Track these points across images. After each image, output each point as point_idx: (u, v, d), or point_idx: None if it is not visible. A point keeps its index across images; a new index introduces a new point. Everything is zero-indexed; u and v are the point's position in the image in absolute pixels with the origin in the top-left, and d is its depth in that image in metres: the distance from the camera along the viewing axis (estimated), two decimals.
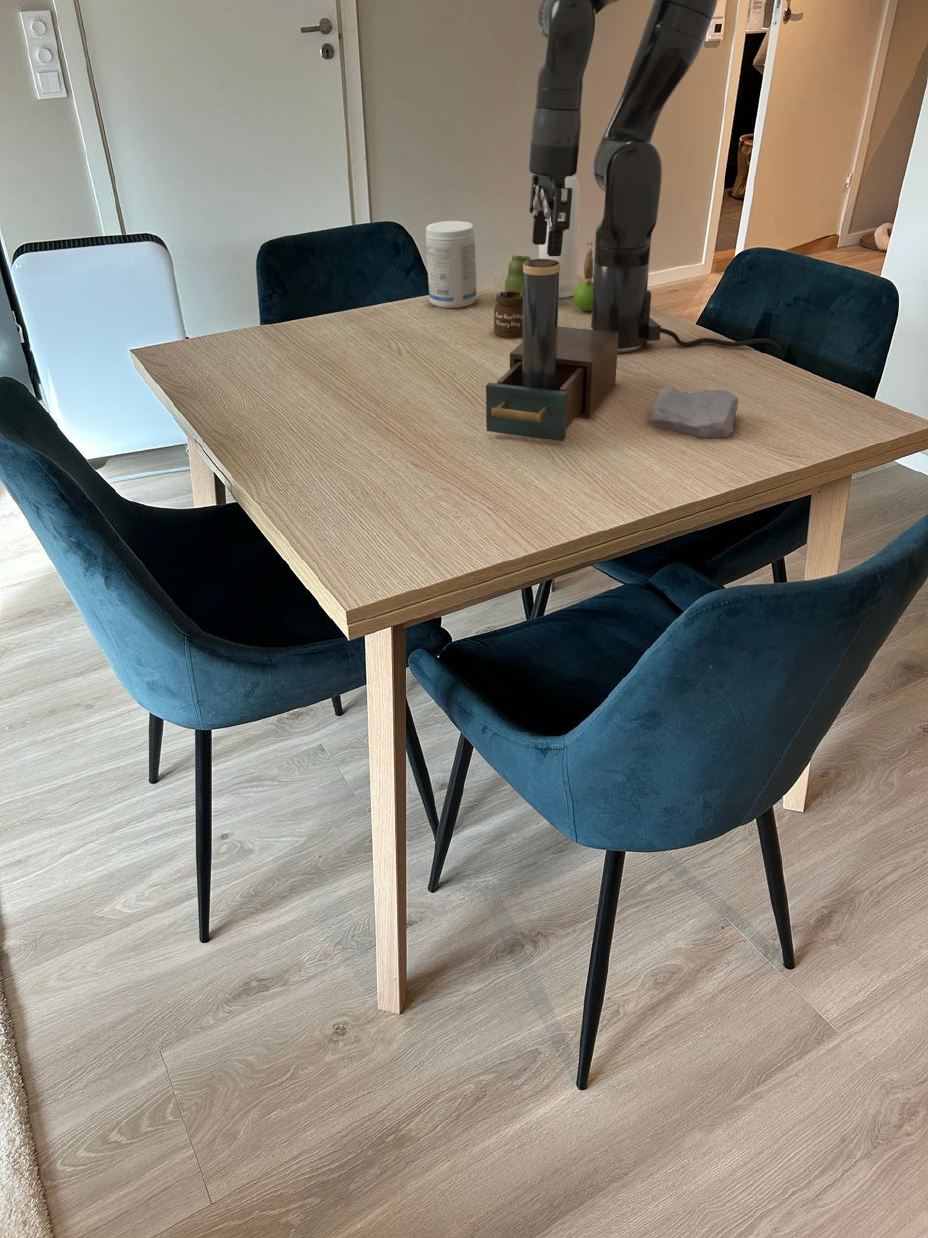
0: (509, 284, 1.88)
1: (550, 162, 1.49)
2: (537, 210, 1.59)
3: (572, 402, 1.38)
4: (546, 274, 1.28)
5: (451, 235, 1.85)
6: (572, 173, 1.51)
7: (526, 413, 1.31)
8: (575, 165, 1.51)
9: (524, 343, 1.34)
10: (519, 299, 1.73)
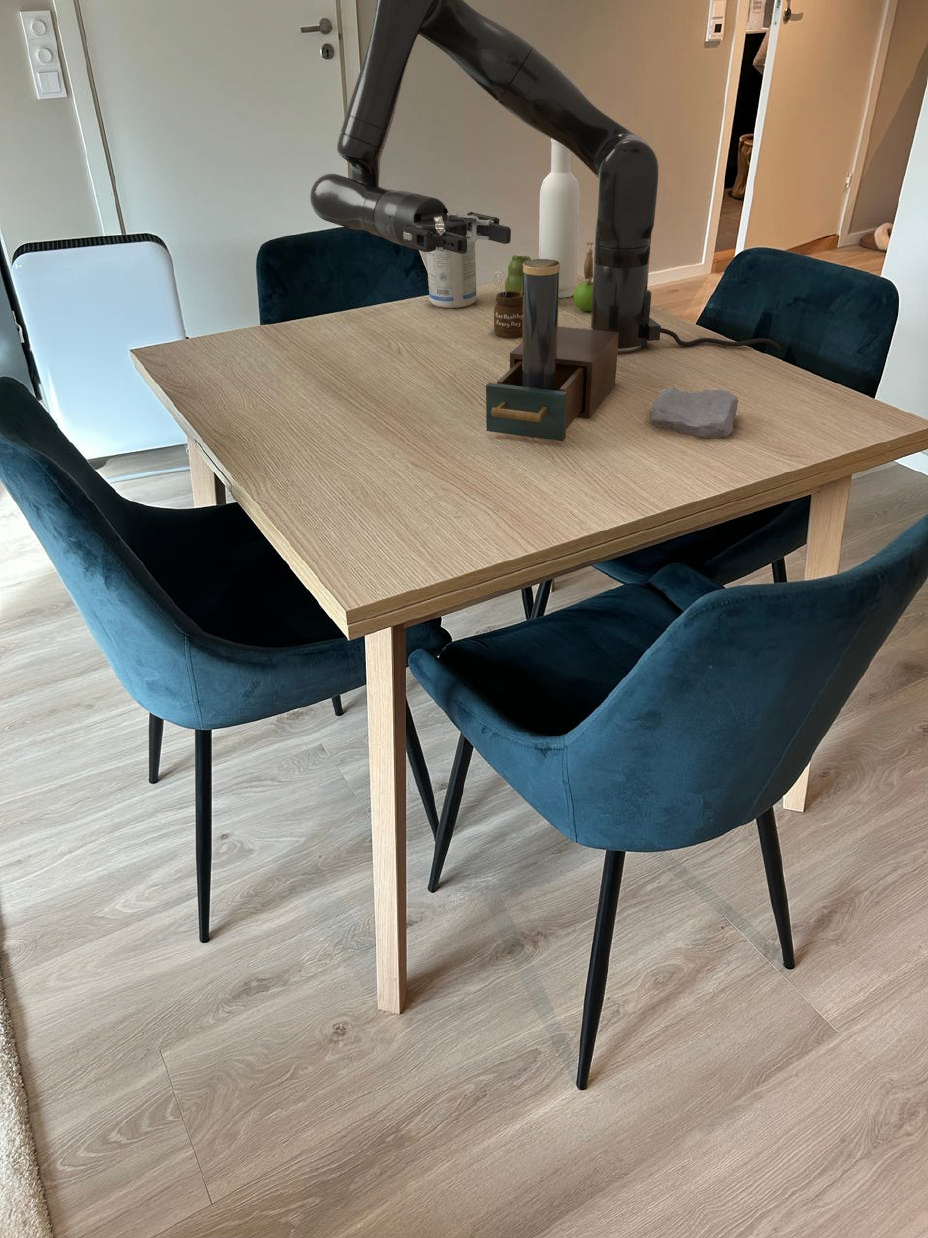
0: (509, 284, 1.88)
1: None
2: (476, 237, 1.41)
3: (572, 402, 1.38)
4: (546, 274, 1.28)
5: None
6: (415, 211, 1.40)
7: (526, 413, 1.31)
8: (412, 205, 1.40)
9: (524, 343, 1.34)
10: (519, 299, 1.73)
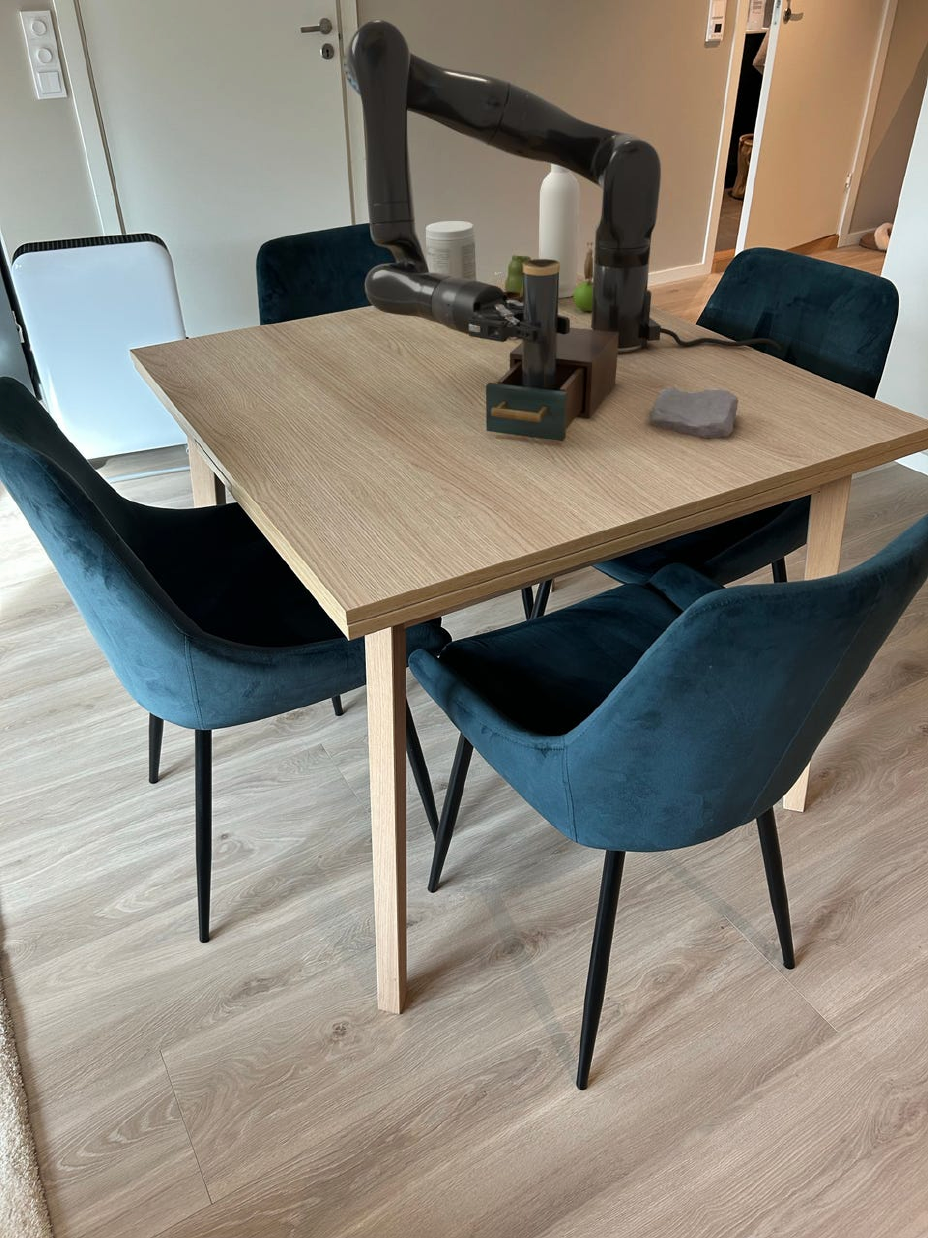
0: (509, 284, 1.88)
1: (464, 326, 1.40)
2: None
3: (572, 402, 1.38)
4: (546, 274, 1.28)
5: (451, 235, 1.85)
6: (474, 300, 1.37)
7: (526, 413, 1.31)
8: (471, 294, 1.38)
9: (524, 343, 1.34)
10: (519, 299, 1.73)
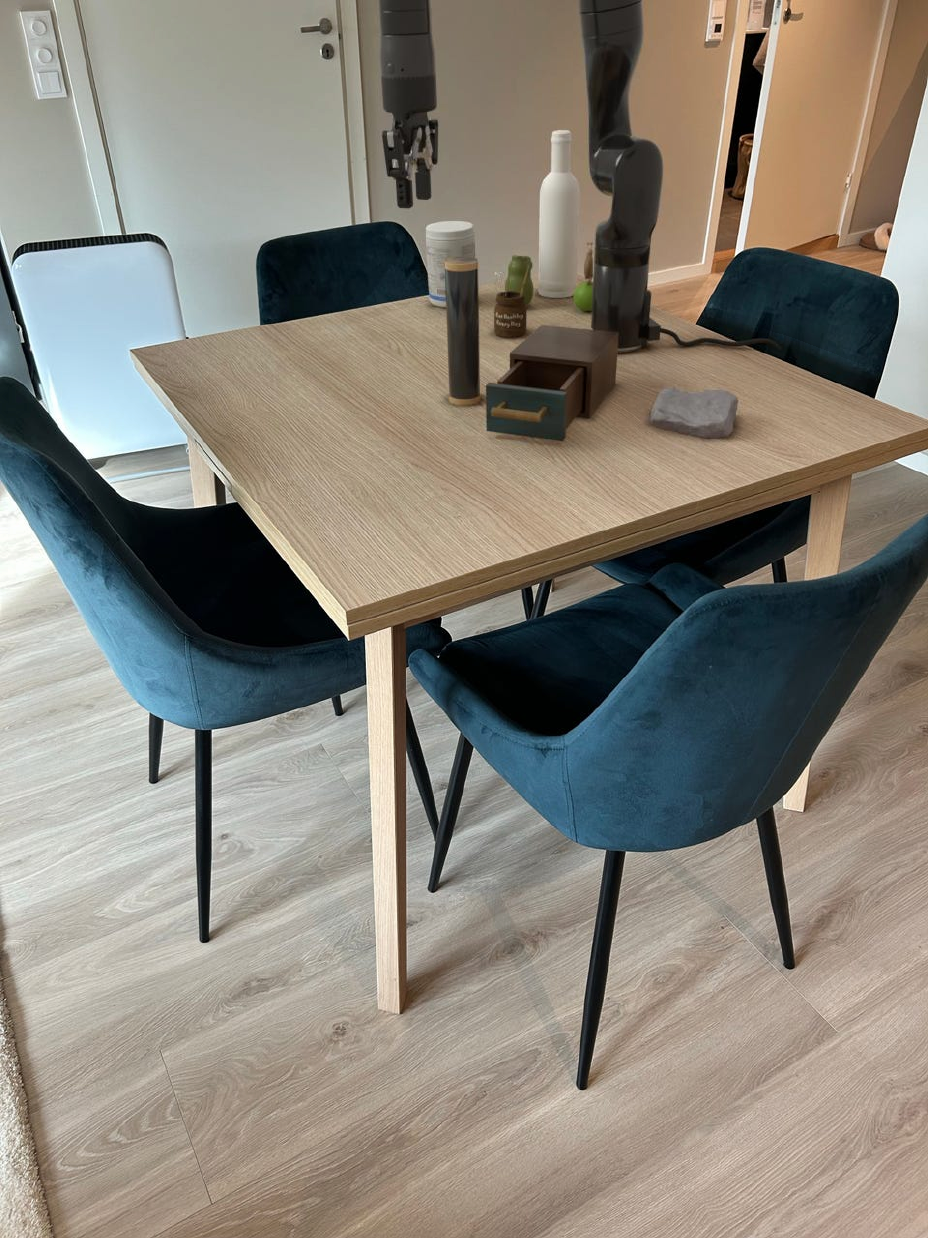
0: (509, 284, 1.88)
1: (388, 96, 1.32)
2: None
3: (572, 402, 1.38)
4: (465, 270, 1.38)
5: (451, 235, 1.85)
6: (416, 109, 1.32)
7: (526, 413, 1.31)
8: (420, 100, 1.32)
9: (448, 334, 1.45)
10: (519, 299, 1.73)
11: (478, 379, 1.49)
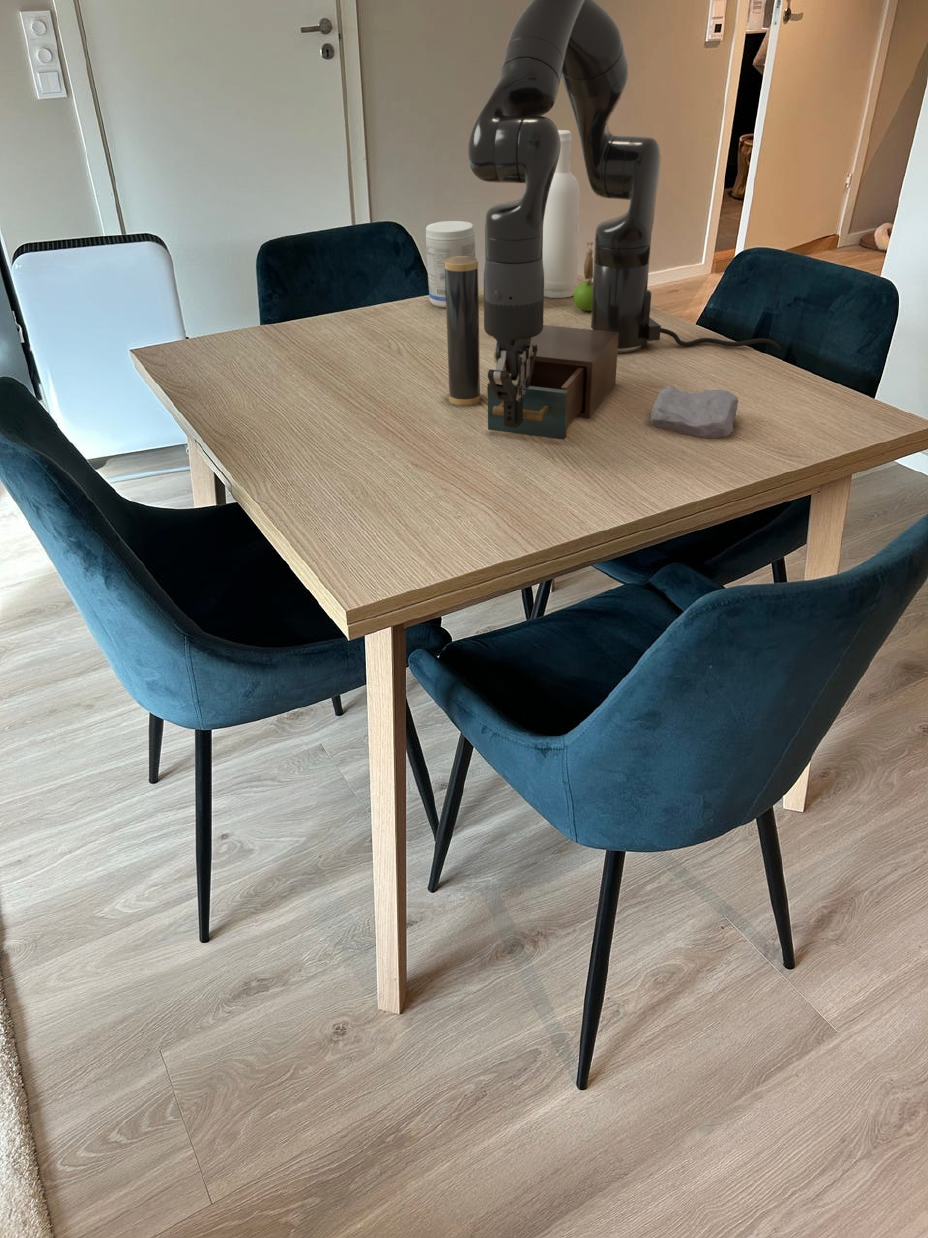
0: None
1: (492, 322, 1.21)
2: None
3: (573, 401, 1.38)
4: (465, 270, 1.38)
5: (451, 235, 1.85)
6: (523, 336, 1.21)
7: (527, 412, 1.31)
8: (528, 327, 1.21)
9: (448, 334, 1.45)
10: None
11: (478, 379, 1.49)
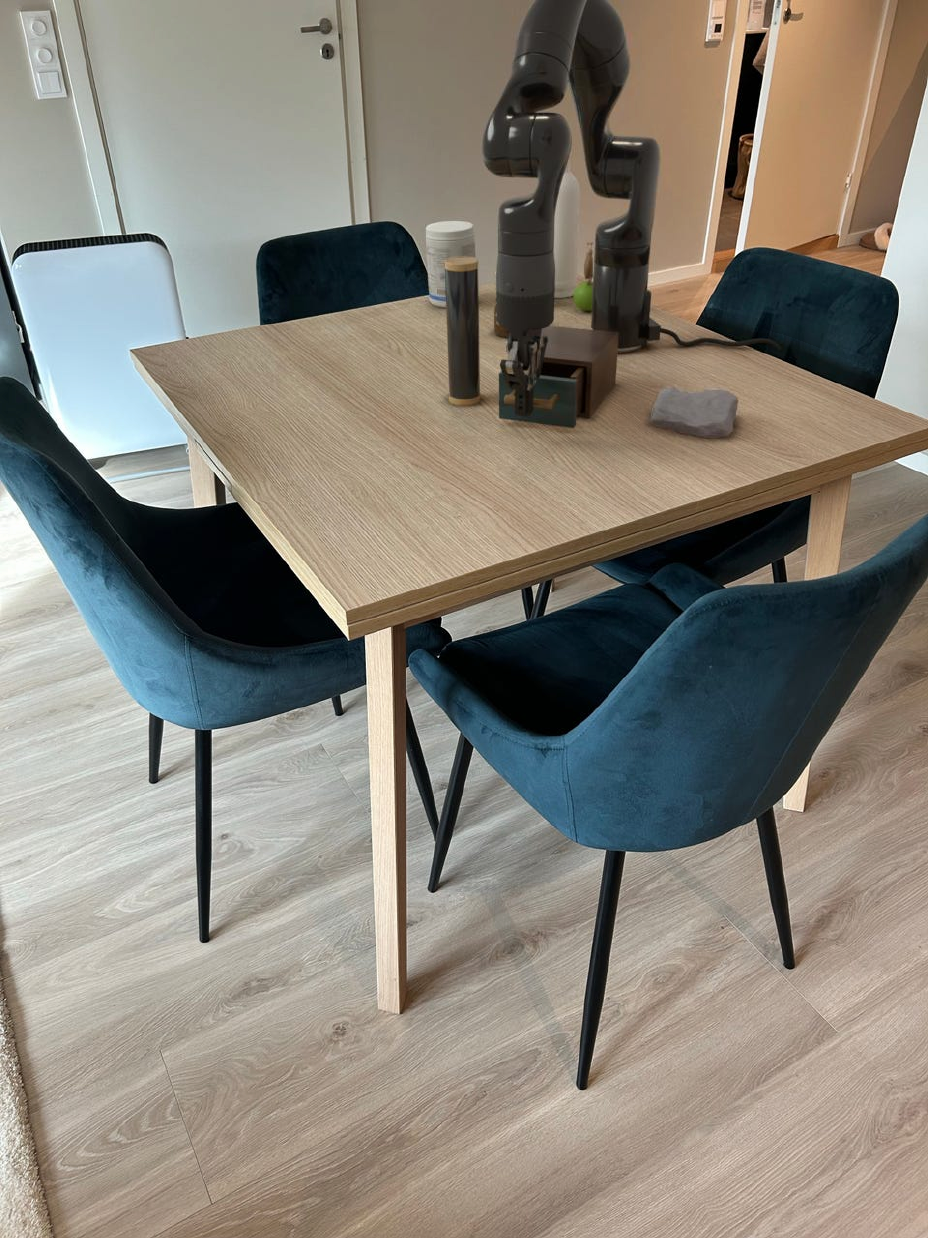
0: None
1: (504, 313, 1.24)
2: None
3: (582, 390, 1.42)
4: (465, 270, 1.38)
5: (451, 235, 1.85)
6: (534, 327, 1.24)
7: (538, 400, 1.35)
8: (539, 318, 1.24)
9: (448, 334, 1.45)
10: None
11: (478, 379, 1.49)
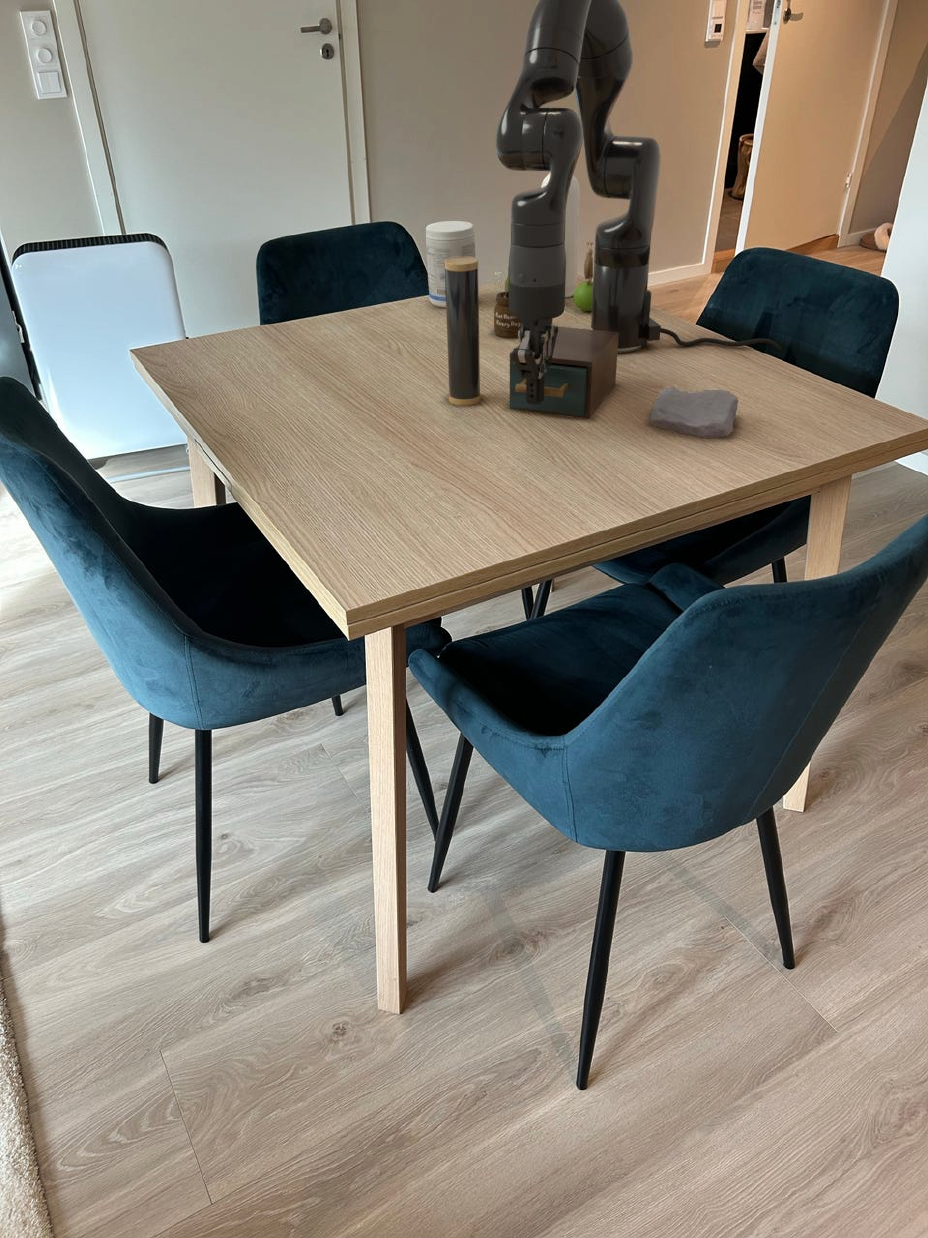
0: None
1: (517, 303, 1.28)
2: None
3: None
4: (465, 270, 1.38)
5: (451, 235, 1.85)
6: (546, 317, 1.28)
7: (549, 388, 1.38)
8: (551, 308, 1.28)
9: (448, 334, 1.45)
10: None
11: (478, 379, 1.49)
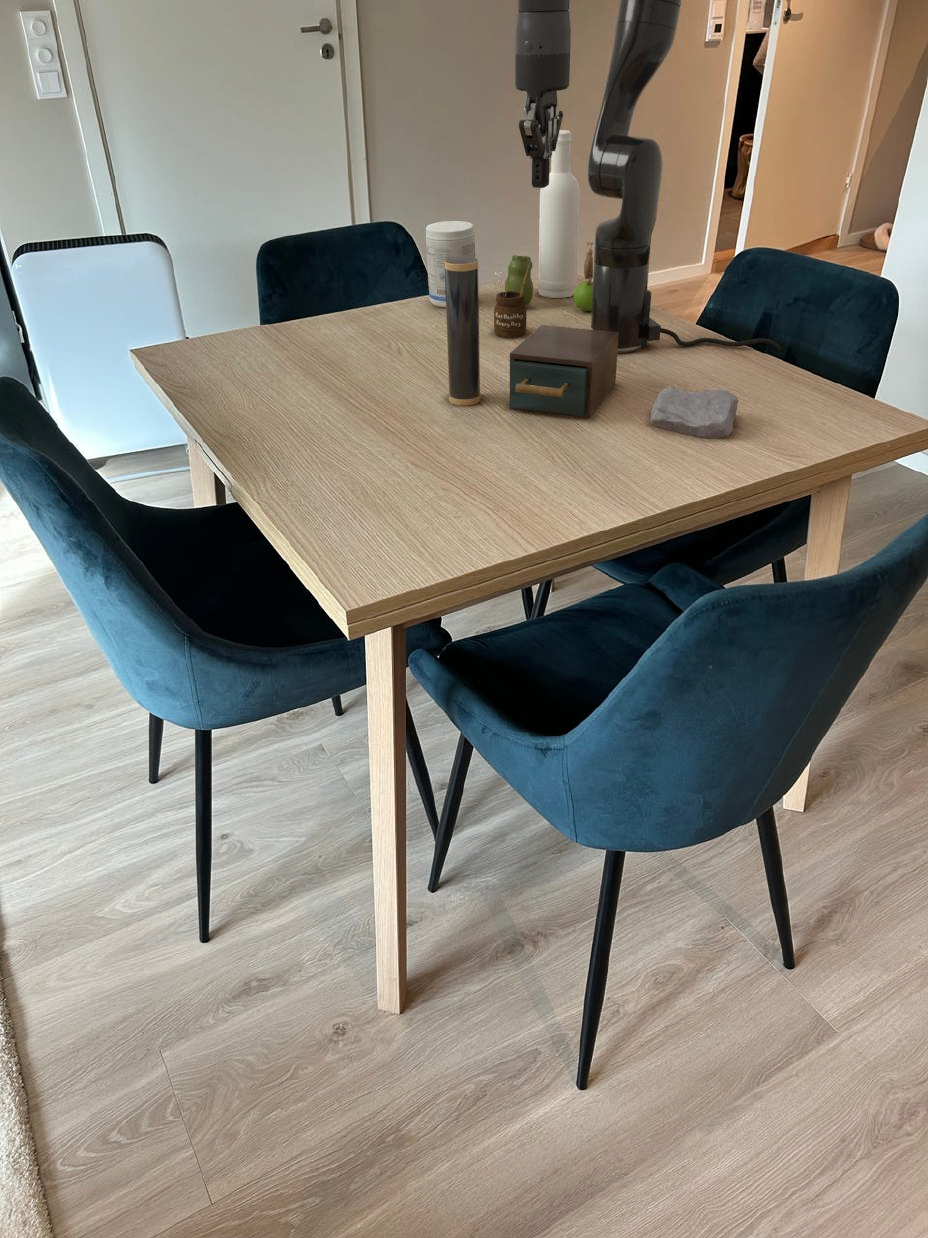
0: (509, 284, 1.88)
1: (523, 74, 1.32)
2: None
3: None
4: (465, 270, 1.38)
5: (451, 235, 1.85)
6: (551, 87, 1.32)
7: (549, 388, 1.38)
8: (556, 78, 1.32)
9: (448, 334, 1.45)
10: (519, 299, 1.73)
11: (478, 379, 1.49)
